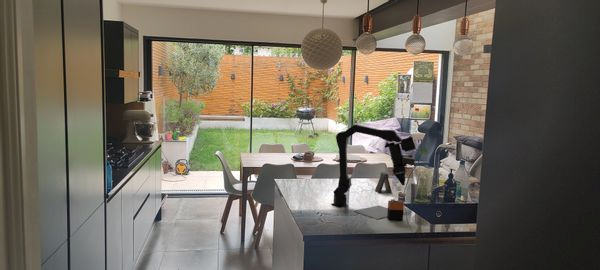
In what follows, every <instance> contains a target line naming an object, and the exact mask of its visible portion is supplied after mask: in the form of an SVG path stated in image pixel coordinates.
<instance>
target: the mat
mask: <svg viewBox="0 0 600 270" xmlns="http://www.w3.org/2000/svg"><path fill="white" fill-rule="evenodd" d="M353 212H354V213H357V214H360V215H362V216H365V217H368V218H372V219H374V220H382V219H385V218H387V212H388V207H386V206H382V205H375V206H370V207H365V208H361V209H355V210H353Z"/></svg>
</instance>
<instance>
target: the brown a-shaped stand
mask: <svg viewBox="0 0 600 270" xmlns="http://www.w3.org/2000/svg"><path fill="white" fill-rule="evenodd" d="M390 184H391V183H390V181H389V174H388V173H386V172H385V171H382V172H380V177H379V179H378V182H377V184H376V185H375V189H374V192H376V193H378V194H392V193H393V191H392V188H391V185H390ZM383 188H385V189H383Z"/></svg>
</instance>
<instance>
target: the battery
mask: <svg viewBox="0 0 600 270" xmlns="http://www.w3.org/2000/svg"><path fill="white" fill-rule="evenodd" d="M387 208H388V212H387V217H386V218H387V220H388V221H390V222H403V220H404V209H405V203H404V202H403V200H401V199H398V200H396V199H390V200H388V202H387Z"/></svg>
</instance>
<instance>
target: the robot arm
mask: <svg viewBox="0 0 600 270" xmlns="http://www.w3.org/2000/svg"><path fill="white" fill-rule="evenodd" d="M355 133H357V134H358V133H359V134H363V135H367V136H368V135H369V136H371V137H377V138H380V139H382V140H384V141H386V143H385V145H384V148H385V149H386V148H388V150H389V154H390V160H391V161H392V167H393V168H392V174H393V175H394V176H395V177H396V179H397V180H398V181H399V183H400V184H401V185H402V186H405V185H406V183H405V182H406V173H407V167H408V165H411V166H415V165H416V164H415V163H416V158H415V157H413V155H412V154H409V155H408V156H405V155H404V154H403V153H402V151H404V153H405V152H410V151H414V150H415V151H416V150H417V146H416V143H415V141H414V138H413V136H412V135H411V136H409V137H405V138H402V137H401V136H399V135H398V132H397V131H396V130H394V129H379V128H378V129H377V128H373V127H369V126H364V125H360V124H358V123H357V124H356V123H355V124H353V125H352V126H351V127H350V128H347V129H346V130H343V131H340V132H338V133H337V134H336V135H335V140H336V145H337V148H338V156H339V157H338V159H339V178H338V185H337V187H336V188H335V189H334V191H333V203H331V204H330V205H332V206H334V207H337V208H344V207H347V206H349V205H348V204H347V194H346V193H347V192H349V190H350V189H351V187H352V185H353V183H352V177H349V174H348V173H349V171H348V151H347V150H348V144H349V139H350V137H351V136H353V135H354V134H355Z"/></svg>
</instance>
